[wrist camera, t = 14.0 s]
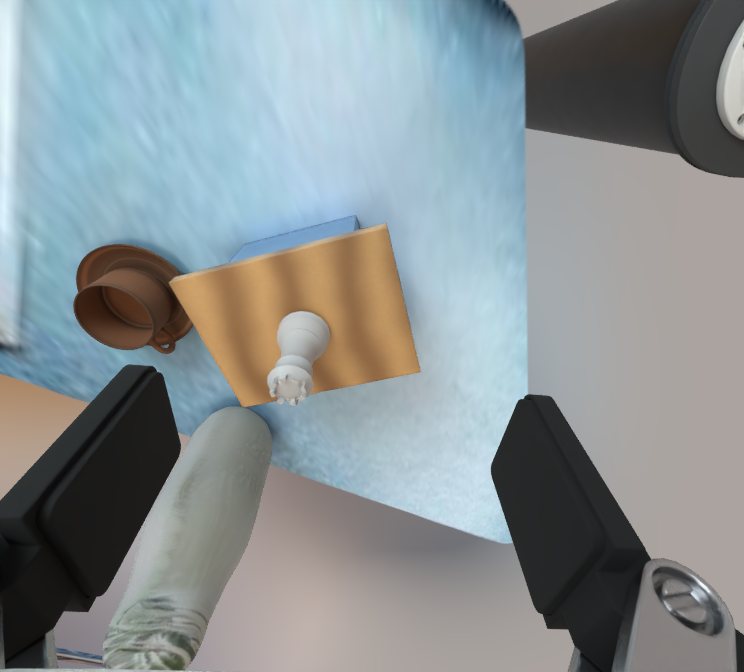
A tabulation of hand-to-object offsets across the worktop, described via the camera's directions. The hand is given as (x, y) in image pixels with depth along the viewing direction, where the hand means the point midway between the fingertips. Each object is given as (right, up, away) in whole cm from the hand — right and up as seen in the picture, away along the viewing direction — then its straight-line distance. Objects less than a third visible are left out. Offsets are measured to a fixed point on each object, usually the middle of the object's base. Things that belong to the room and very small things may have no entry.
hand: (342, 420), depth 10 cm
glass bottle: (-17, -9, +42) cm, 46 cm away
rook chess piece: (-5, +3, +22) cm, 23 cm away
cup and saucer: (-24, +7, +31) cm, 40 cm away
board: (-5, +3, +23) cm, 24 cm away
